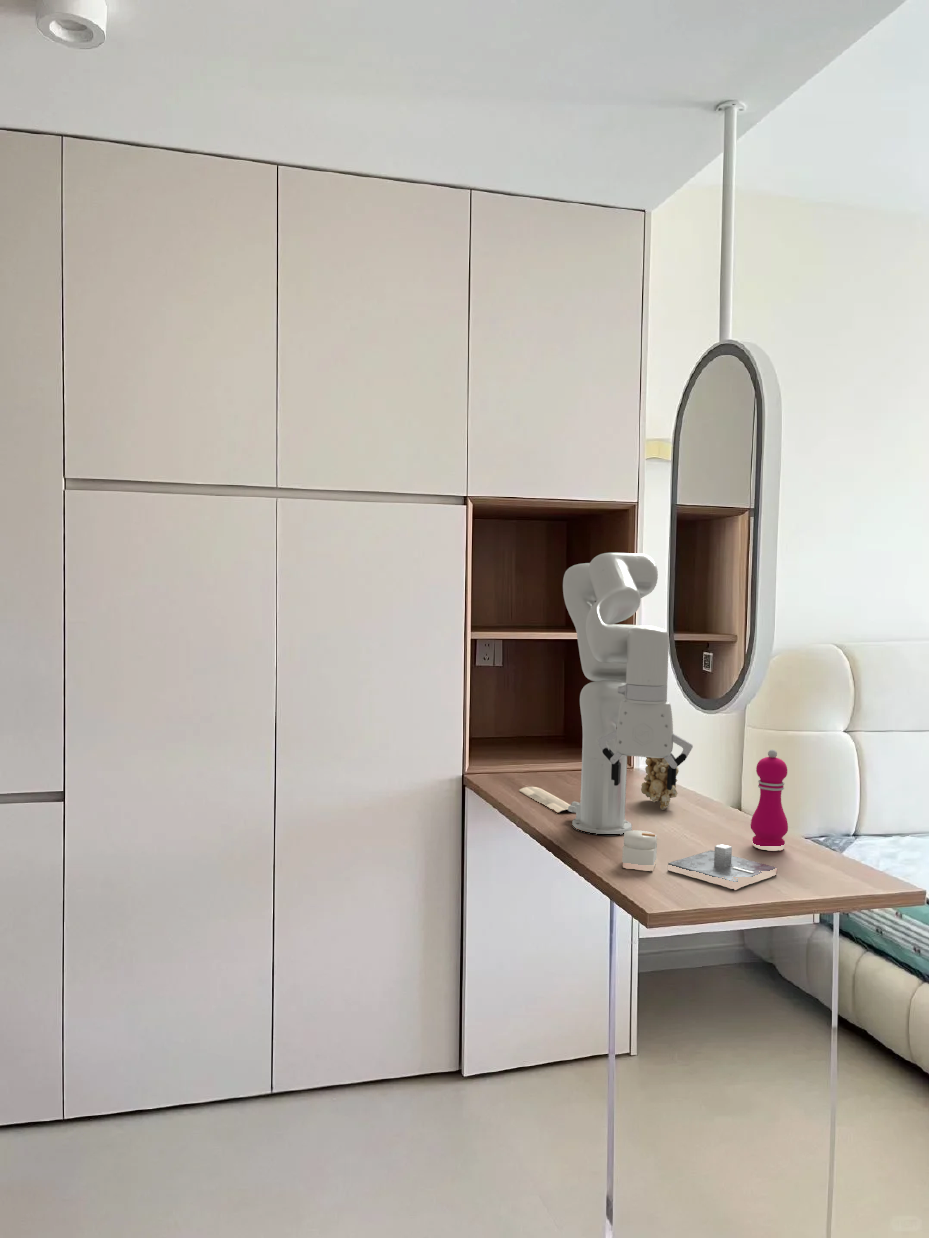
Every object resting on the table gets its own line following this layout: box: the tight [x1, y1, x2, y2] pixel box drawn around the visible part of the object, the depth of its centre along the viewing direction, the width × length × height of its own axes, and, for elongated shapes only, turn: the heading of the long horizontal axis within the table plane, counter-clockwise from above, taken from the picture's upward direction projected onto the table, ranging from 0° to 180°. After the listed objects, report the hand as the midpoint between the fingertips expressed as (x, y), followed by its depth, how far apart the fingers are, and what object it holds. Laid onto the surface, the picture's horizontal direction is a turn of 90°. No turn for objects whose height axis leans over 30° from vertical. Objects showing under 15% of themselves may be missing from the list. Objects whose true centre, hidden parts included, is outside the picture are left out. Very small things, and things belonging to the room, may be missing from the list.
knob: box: [621, 829, 658, 865], centre depth 182 cm, size 6×6×6 cm
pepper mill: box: [750, 749, 789, 846], centre depth 197 cm, size 7×7×20 cm
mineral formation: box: [640, 757, 680, 811], centre depth 231 cm, size 8×13×15 cm, turn 6°
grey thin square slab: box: [667, 843, 778, 882], centre depth 179 cm, size 14×14×5 cm
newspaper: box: [518, 786, 571, 813], centre depth 232 cm, size 24×7×2 cm, turn 18°
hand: (643, 786), depth 181 cm, fingers open, 9 cm apart
